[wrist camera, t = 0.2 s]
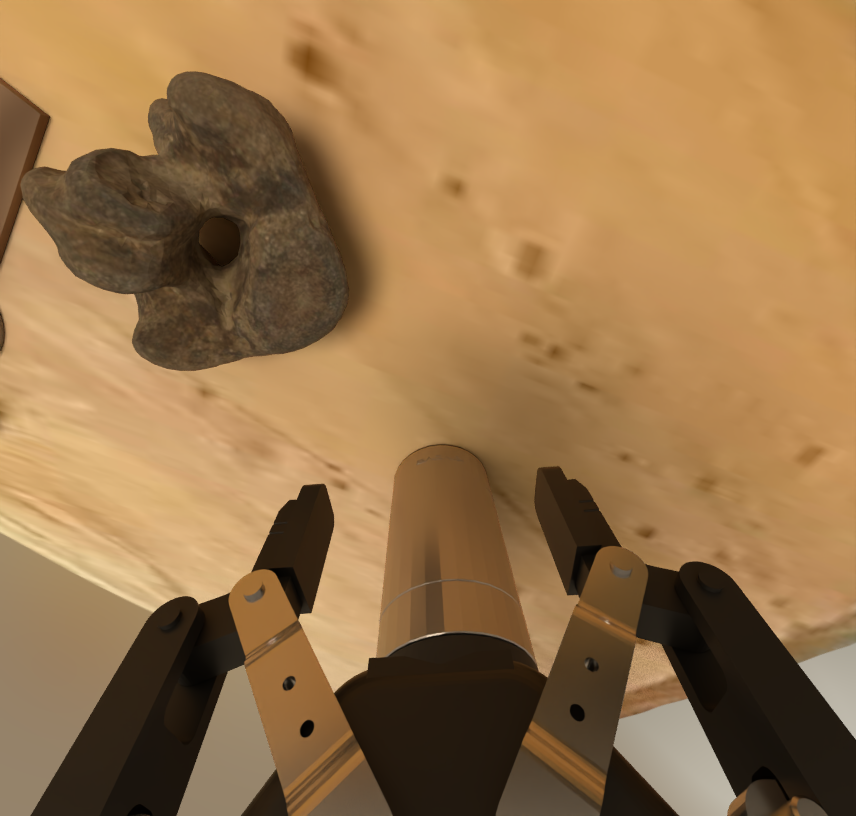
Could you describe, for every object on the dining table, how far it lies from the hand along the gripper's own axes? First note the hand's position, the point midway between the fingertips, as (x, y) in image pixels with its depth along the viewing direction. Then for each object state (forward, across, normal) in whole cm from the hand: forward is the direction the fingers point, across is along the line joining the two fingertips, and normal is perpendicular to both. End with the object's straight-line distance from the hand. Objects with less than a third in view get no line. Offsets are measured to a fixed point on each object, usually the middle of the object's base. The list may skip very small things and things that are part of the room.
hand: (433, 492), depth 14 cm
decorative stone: (+18, -11, +8) cm, 23 cm away
